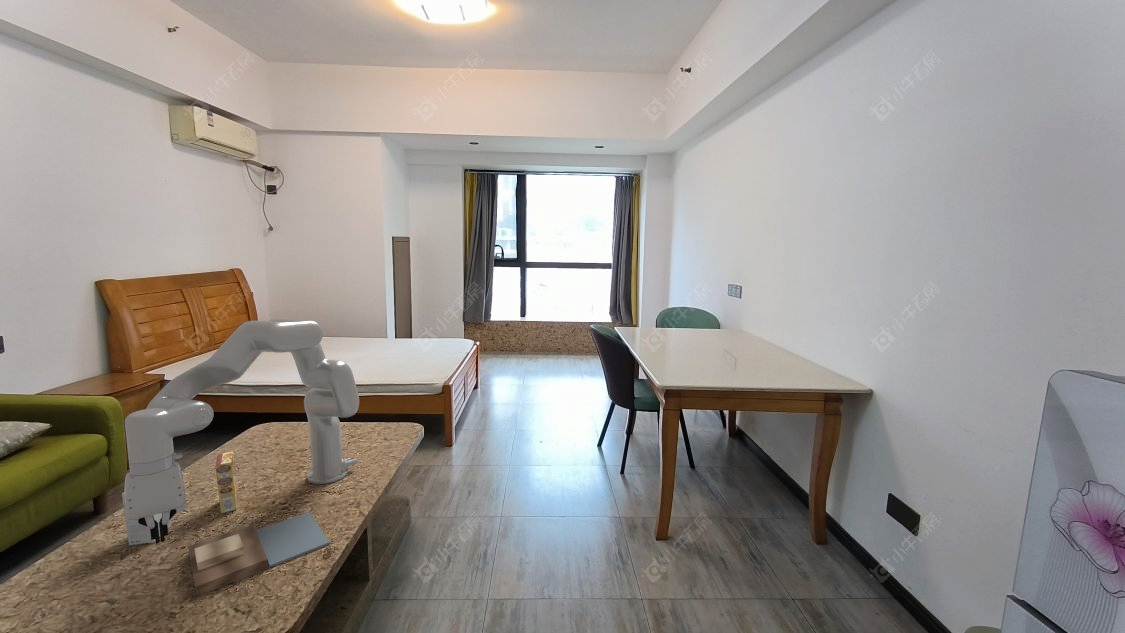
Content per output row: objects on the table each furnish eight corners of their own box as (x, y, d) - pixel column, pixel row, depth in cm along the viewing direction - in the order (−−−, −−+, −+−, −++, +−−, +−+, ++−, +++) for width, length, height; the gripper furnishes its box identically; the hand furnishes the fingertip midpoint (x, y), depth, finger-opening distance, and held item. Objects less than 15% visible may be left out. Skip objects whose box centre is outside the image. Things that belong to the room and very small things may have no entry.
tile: (239, 540, 119) (238, 533, 119) (244, 554, 114) (243, 546, 114) (195, 555, 113) (194, 548, 113) (198, 570, 108) (197, 563, 108)
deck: (254, 532, 126) (253, 524, 126) (268, 568, 113) (267, 559, 112) (189, 554, 117) (188, 545, 117) (196, 596, 103) (195, 586, 103)
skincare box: (153, 543, 121) (147, 491, 119) (127, 546, 120) (119, 493, 118) (172, 525, 129) (167, 475, 127) (147, 527, 128) (141, 477, 126)
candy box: (237, 510, 137) (232, 461, 135) (219, 514, 135) (214, 465, 133) (238, 496, 145) (234, 450, 142) (221, 500, 142) (217, 453, 140)
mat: (310, 513, 136) (309, 511, 136) (329, 544, 122) (329, 542, 122) (255, 532, 127) (255, 530, 127) (270, 567, 113) (269, 565, 113)
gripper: (193, 450, 110) (199, 520, 113) (106, 468, 100) (115, 545, 103) (196, 460, 105) (203, 534, 107) (104, 480, 95) (114, 562, 97)
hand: (160, 540), depth 105 cm, fingers closed
